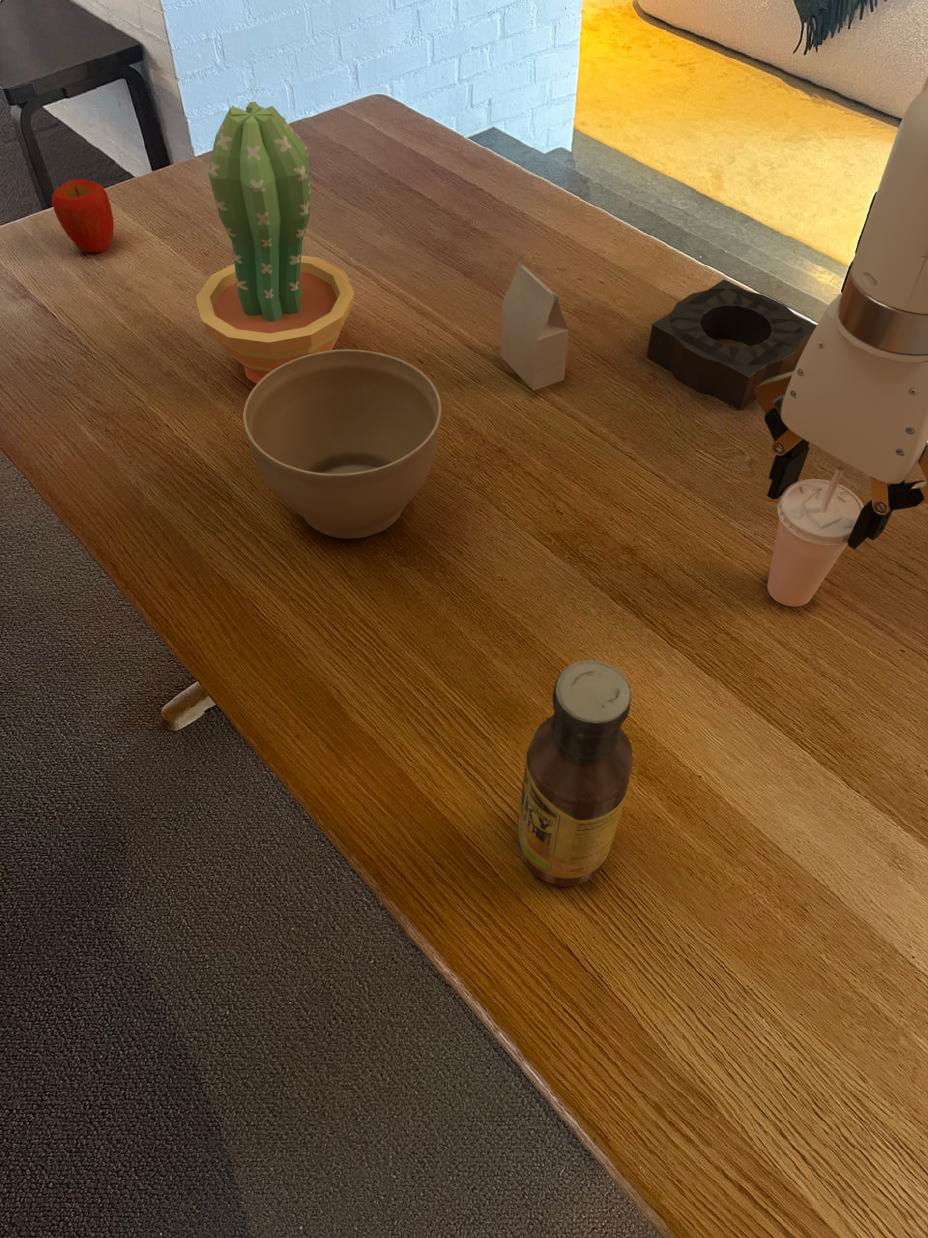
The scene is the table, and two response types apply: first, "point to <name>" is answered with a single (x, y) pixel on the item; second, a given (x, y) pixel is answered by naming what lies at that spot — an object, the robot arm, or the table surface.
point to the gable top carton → (533, 331)
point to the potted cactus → (268, 249)
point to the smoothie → (810, 536)
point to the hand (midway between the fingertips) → (821, 512)
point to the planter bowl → (344, 437)
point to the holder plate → (737, 316)
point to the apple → (85, 214)
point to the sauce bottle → (576, 775)
